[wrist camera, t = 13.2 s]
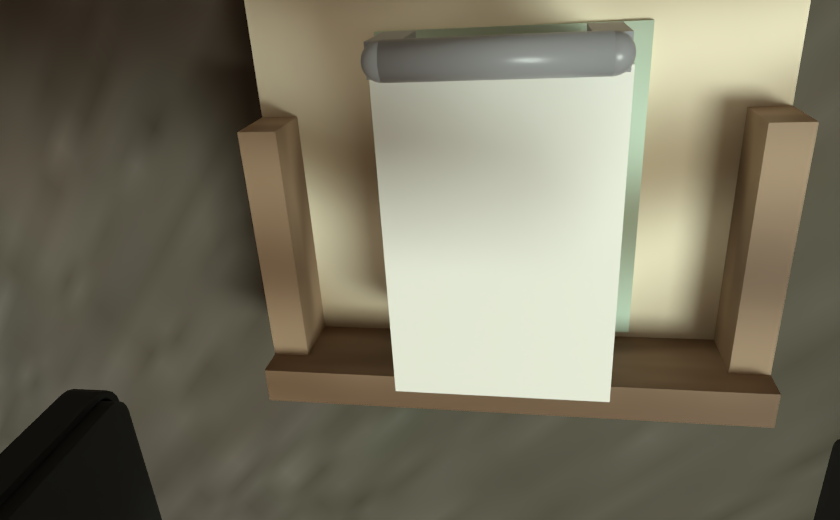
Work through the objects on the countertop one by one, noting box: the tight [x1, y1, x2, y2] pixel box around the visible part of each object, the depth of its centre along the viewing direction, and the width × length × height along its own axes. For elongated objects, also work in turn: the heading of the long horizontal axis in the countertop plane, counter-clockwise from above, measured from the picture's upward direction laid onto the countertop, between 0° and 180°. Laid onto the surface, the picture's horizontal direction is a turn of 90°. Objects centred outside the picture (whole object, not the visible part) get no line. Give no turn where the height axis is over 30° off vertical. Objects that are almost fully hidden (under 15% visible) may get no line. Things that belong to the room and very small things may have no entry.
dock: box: [237, 0, 819, 428], centre depth 21 cm, size 16×16×6 cm
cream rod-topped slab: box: [361, 22, 636, 402], centre depth 18 cm, size 10×6×6 cm, turn 3°
